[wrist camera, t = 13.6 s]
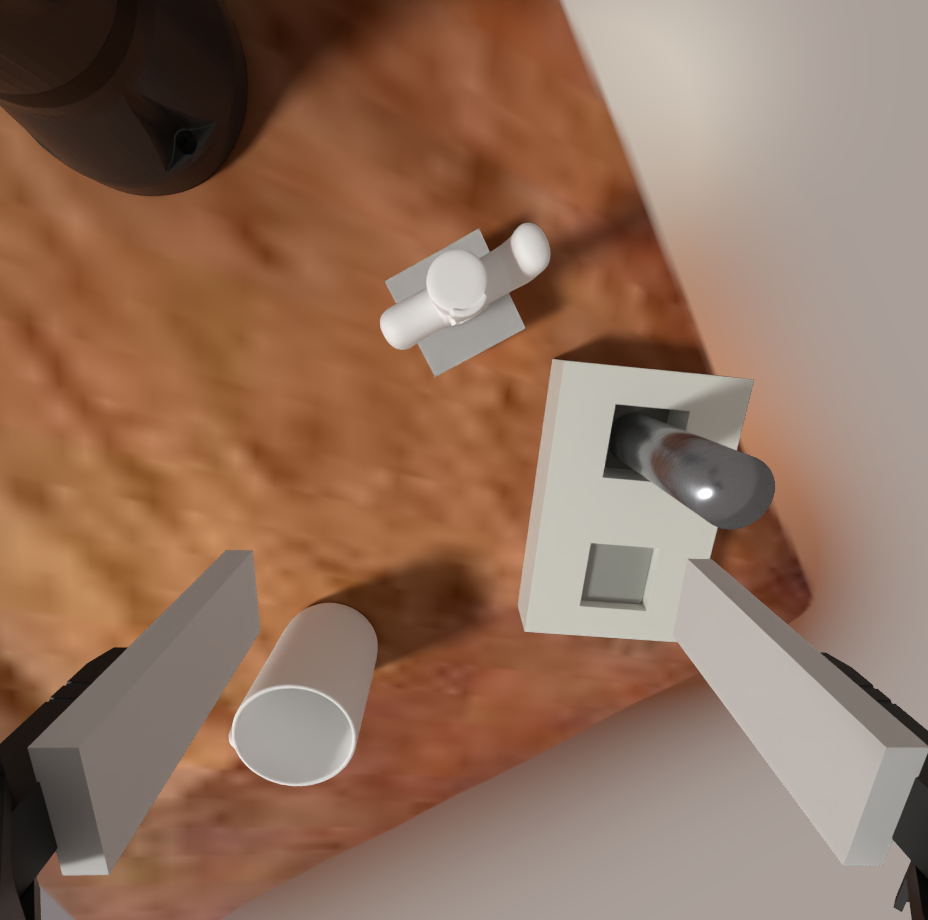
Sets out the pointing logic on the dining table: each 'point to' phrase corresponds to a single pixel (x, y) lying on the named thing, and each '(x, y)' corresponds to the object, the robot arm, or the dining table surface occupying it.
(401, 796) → the dining table surface
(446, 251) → the figurine
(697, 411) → the bore block
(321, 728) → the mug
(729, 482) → the steel pin
